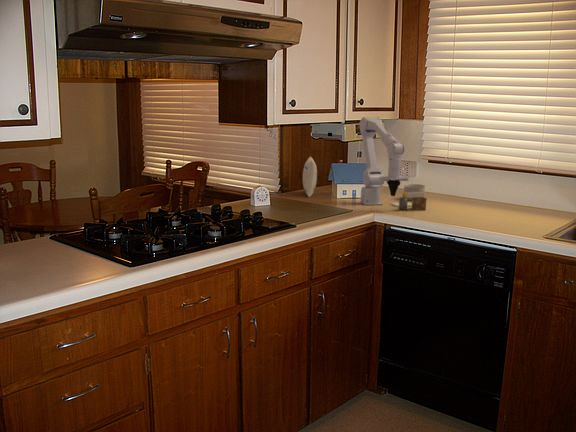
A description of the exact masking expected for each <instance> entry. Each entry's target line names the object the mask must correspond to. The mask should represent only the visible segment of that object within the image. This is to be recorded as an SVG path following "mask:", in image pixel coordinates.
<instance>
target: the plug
mask: <svg viewBox="0 0 576 432" xmlns="http://www.w3.org/2000/svg"><path fill="white" fill-rule="evenodd" d="M408 202H409V200H408V198H405V197H402V196H399V207H398V210H399V211H402V212H404V211H408V207H407V203H408Z"/></svg>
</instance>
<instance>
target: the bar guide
mask: <svg viewBox="0 0 576 432" xmlns="http://www.w3.org/2000/svg"><path fill="white" fill-rule="evenodd" d="M427 199H428V197H425V196H424V197H413V198H412V201H411V202H412V203H411V204H412V206H411V209H412V210H415V211H426V210H427V209H426V208H427Z"/></svg>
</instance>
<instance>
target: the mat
mask: <svg viewBox="0 0 576 432" xmlns="http://www.w3.org/2000/svg"><path fill="white" fill-rule="evenodd" d="M390 205H392V206H393V207H396V208H399V202H390ZM409 207H412V203H411V202H409V201H408V203H407V208H409Z"/></svg>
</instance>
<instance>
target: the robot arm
mask: <svg viewBox="0 0 576 432" xmlns="http://www.w3.org/2000/svg"><path fill="white" fill-rule="evenodd" d="M358 124H359V130H360V131H359V132H360V135H361V138H362V144H363V150H364V157H365V163H366V169H365V170H364V171H362V172H363V173H362V174H363V177H362V181H363V184H364V186H362V187H361V188H360V190H361V191H360V201H359V203H361V204H363V205H365V206H372V205H373V206H375V205H377V206H378V205H382V206H383V203H382V202H381V199H380V198H381V187H383V185H384V183H385V182H386V183H387V186H388V189H389V193H390V196H391V197H396V194H397V190H398V188H399V187H400V185H401V182H409V178H410V177H409V176H402V175H401V169H402V166H401V165H402V155H404V152H405V146H404V144H403V142H399V141H398V140H397V139H396V138H395V137H394V136H393V134H392V133H391V132H387V131H386V129H385V127H384V126H383V121H382V119H381V118H380V117H379V116H376V117H366V116H364V117H361V119H360V121H359V123H358ZM376 134H377V135H379V136H380V138H381V142H382V144H383V145H384V146H385V147H386V153H387V157H388V168H387V169H388V171H387V176H385V175H384V174H383V170H382V169H381V168H380V167H379V166H378V161H377V156H376V155H377V154H376V149H375V144H374V137H375V135H376Z"/></svg>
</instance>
